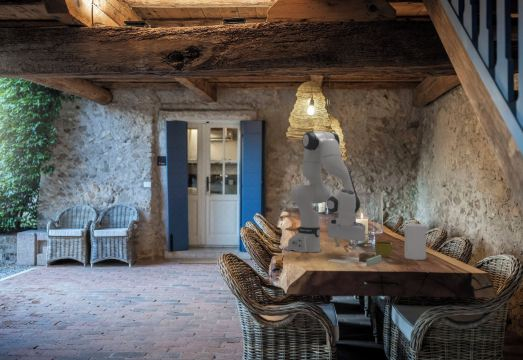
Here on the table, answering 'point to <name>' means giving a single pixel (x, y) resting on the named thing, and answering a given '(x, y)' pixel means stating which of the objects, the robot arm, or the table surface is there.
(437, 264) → the table surface
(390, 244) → the flower pot
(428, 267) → the table surface
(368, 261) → the trap deck
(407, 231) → the cup
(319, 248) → the robot arm
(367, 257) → the walnut block
